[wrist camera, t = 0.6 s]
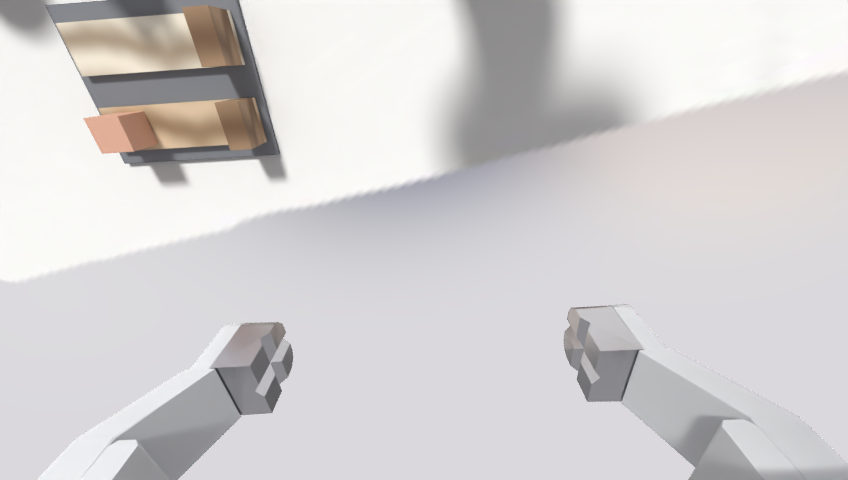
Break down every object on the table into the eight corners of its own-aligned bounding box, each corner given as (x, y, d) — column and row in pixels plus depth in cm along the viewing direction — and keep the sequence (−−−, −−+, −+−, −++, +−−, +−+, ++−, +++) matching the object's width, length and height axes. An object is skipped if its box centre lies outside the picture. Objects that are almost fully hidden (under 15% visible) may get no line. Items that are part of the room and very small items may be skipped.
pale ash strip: (61, 23, 42) (20, 19, 38) (230, 10, 41) (207, 5, 37) (87, 76, 45) (52, 78, 41) (245, 64, 44) (226, 65, 40)
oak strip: (103, 107, 47) (70, 112, 43) (254, 97, 46) (237, 101, 42) (124, 150, 50) (96, 158, 46) (267, 141, 49) (252, 149, 45)
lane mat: (49, 6, 42) (45, 5, 41) (235, -9, 41) (232, -10, 40) (127, 162, 51) (124, 163, 51) (279, 153, 50) (277, 154, 50)
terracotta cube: (112, 113, 46) (83, 118, 42) (143, 111, 46) (117, 116, 42) (128, 145, 49) (102, 153, 45) (158, 143, 48) (134, 151, 44)
